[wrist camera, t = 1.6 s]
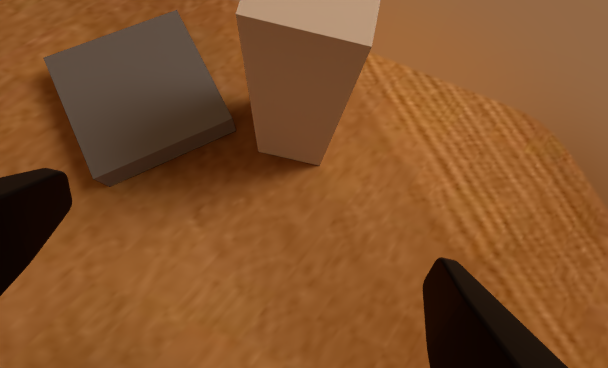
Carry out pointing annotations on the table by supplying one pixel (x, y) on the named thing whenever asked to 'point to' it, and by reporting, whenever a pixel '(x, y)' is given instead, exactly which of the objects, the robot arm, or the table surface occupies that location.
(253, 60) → the tall white pillar block
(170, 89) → the plate
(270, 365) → the table surface
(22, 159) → the table surface
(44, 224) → the robot arm
